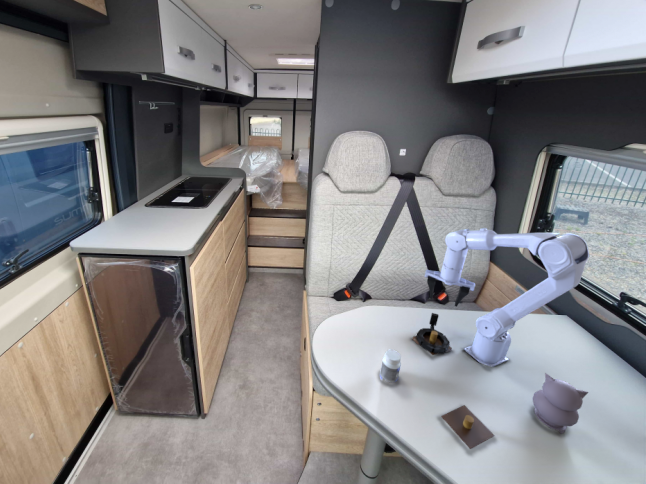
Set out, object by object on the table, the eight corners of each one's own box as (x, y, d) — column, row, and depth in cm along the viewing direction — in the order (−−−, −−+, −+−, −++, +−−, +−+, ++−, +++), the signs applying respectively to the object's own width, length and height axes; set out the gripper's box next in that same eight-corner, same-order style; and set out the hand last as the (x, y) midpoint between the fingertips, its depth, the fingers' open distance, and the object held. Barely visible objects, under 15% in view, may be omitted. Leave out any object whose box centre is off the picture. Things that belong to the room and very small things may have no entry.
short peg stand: (463, 408, 77) (466, 398, 76) (493, 438, 70) (497, 428, 69) (439, 419, 74) (442, 409, 73) (468, 452, 67) (473, 442, 66)
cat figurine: (525, 420, 75) (542, 385, 70) (528, 398, 80) (543, 364, 76) (571, 445, 70) (592, 408, 65) (570, 420, 75) (590, 384, 71)
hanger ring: (449, 358, 90) (454, 343, 88) (415, 347, 94) (419, 333, 92) (447, 331, 101) (451, 317, 99) (416, 323, 104) (419, 309, 102)
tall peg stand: (430, 333, 101) (434, 321, 100) (451, 351, 95) (454, 338, 93) (412, 339, 98) (415, 327, 97) (431, 358, 92) (435, 345, 90)
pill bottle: (398, 387, 82) (403, 363, 79) (380, 383, 83) (384, 360, 80) (396, 372, 86) (401, 349, 83) (378, 369, 87) (383, 346, 84)
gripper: (426, 264, 98) (418, 299, 103) (478, 278, 91) (467, 315, 96) (429, 255, 104) (421, 289, 109) (478, 268, 97) (467, 303, 102)
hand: (443, 300), depth 103 cm, fingers open, 7 cm apart
